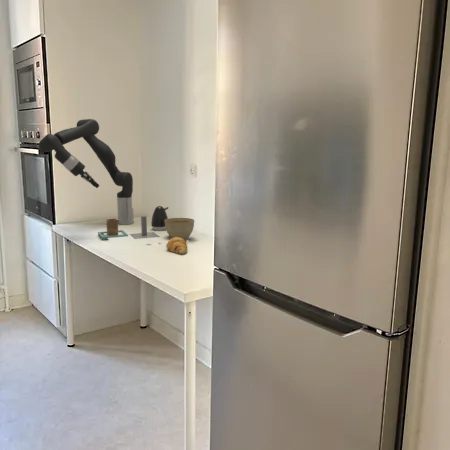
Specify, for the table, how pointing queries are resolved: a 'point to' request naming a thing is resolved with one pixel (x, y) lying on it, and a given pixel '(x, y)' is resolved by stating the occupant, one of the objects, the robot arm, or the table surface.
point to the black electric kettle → (159, 218)
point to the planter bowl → (179, 227)
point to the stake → (144, 230)
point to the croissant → (177, 245)
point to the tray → (110, 236)
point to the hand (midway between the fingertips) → (97, 186)
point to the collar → (112, 227)
